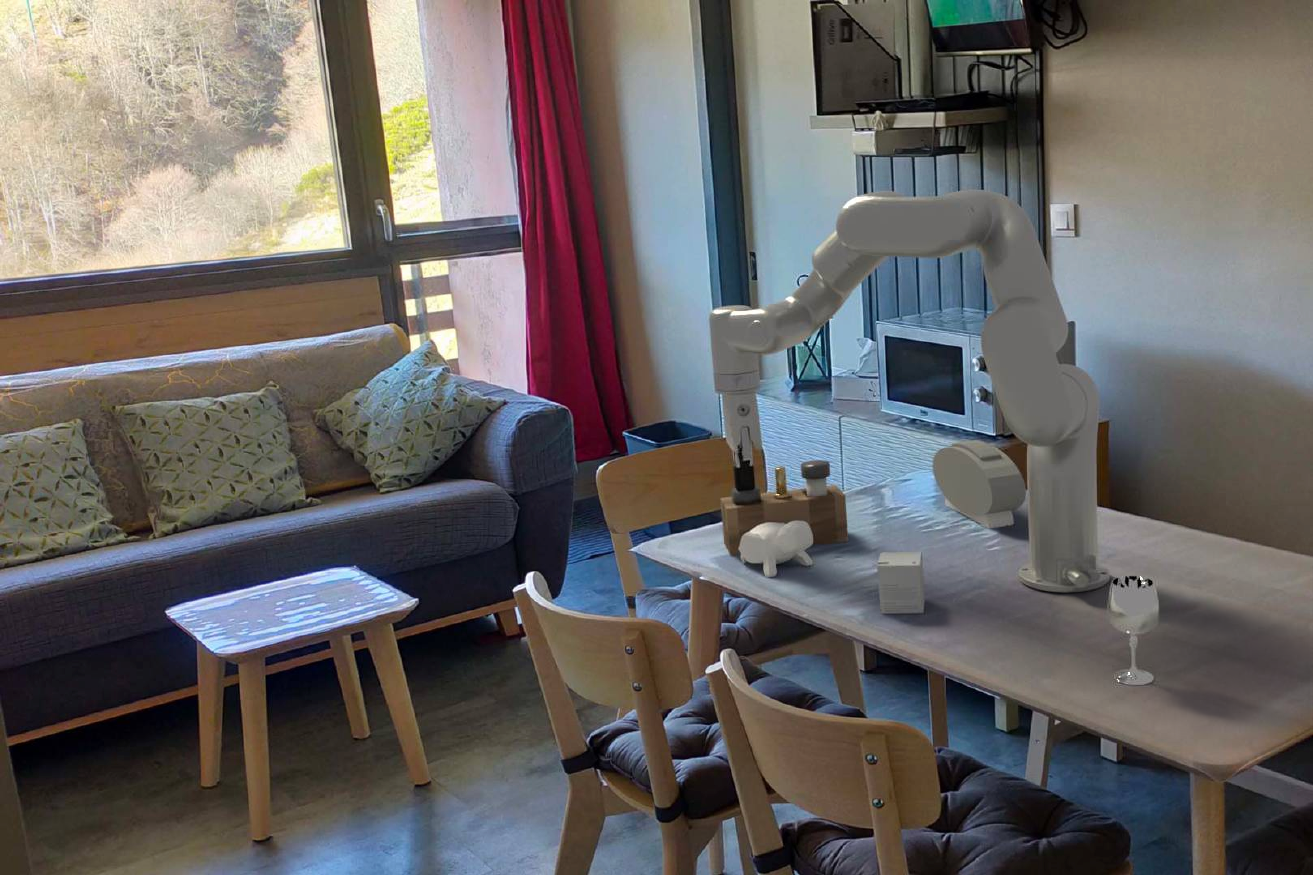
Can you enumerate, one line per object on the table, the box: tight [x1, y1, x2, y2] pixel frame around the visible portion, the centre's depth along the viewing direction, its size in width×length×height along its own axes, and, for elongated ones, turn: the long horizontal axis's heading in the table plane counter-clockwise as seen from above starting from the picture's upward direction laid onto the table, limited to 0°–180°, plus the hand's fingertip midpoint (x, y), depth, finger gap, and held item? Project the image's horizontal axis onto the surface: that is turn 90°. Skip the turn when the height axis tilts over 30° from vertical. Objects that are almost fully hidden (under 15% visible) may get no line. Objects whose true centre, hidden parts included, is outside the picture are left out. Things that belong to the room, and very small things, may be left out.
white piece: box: [738, 521, 813, 578], centre depth 203 cm, size 9×8×15 cm
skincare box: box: [876, 551, 926, 615], centre depth 182 cm, size 6×6×7 cm
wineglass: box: [1106, 575, 1160, 686], centre depth 151 cm, size 6×6×12 cm
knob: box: [800, 459, 831, 497], centre depth 215 cm, size 5×5×9 cm
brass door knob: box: [773, 466, 791, 499], centre depth 214 cm, size 3×3×5 cm
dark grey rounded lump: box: [731, 485, 762, 505], centre depth 215 cm, size 5×5×9 cm
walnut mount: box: [719, 484, 849, 556], centre depth 216 cm, size 7×20×8 cm, turn 95°
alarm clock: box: [932, 439, 1027, 530], centre depth 221 cm, size 23×6×13 cm, turn 12°
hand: (745, 488), depth 214 cm, fingers closed
